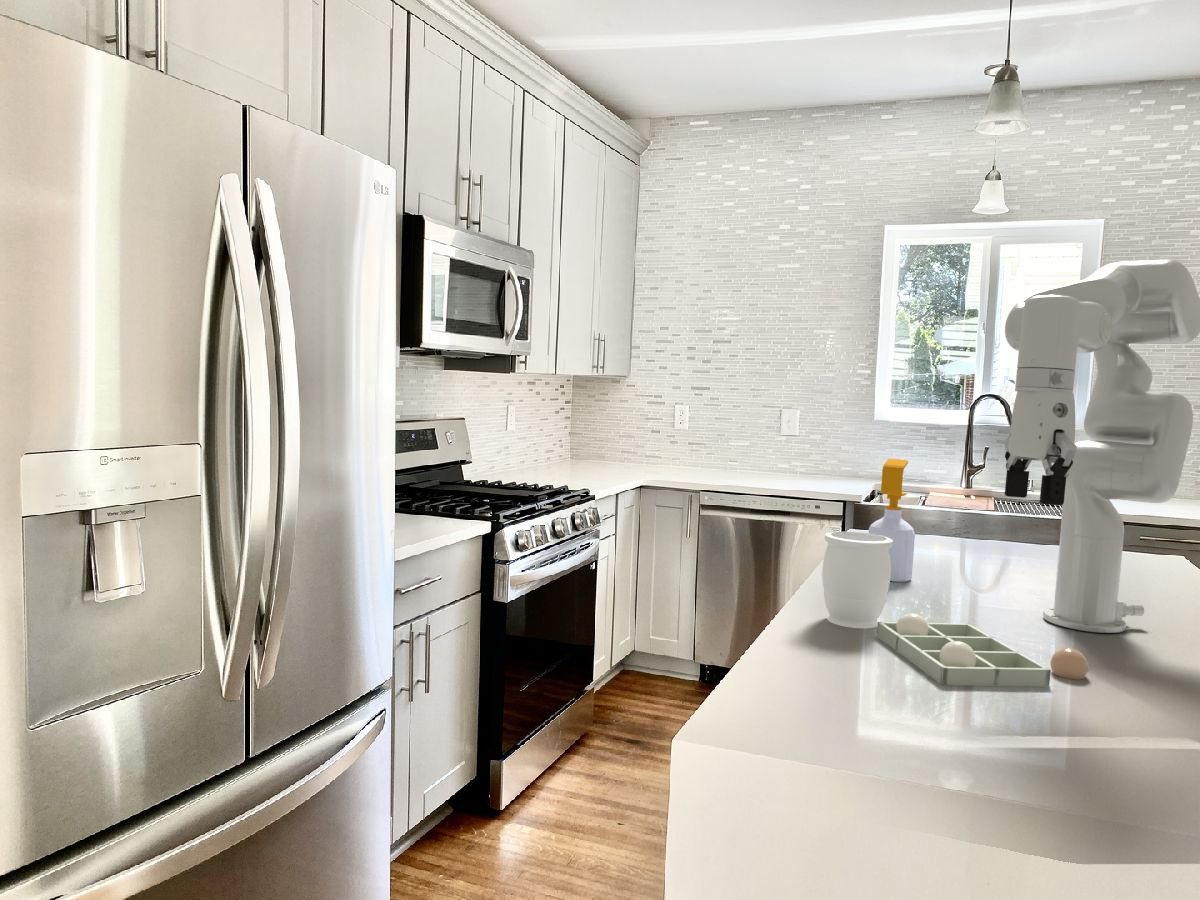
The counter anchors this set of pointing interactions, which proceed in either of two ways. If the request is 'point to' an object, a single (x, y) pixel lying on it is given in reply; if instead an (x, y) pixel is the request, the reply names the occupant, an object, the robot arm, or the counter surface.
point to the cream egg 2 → (957, 655)
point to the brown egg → (1069, 664)
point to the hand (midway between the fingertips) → (1032, 500)
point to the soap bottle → (895, 522)
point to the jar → (856, 577)
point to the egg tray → (992, 656)
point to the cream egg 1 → (912, 625)
